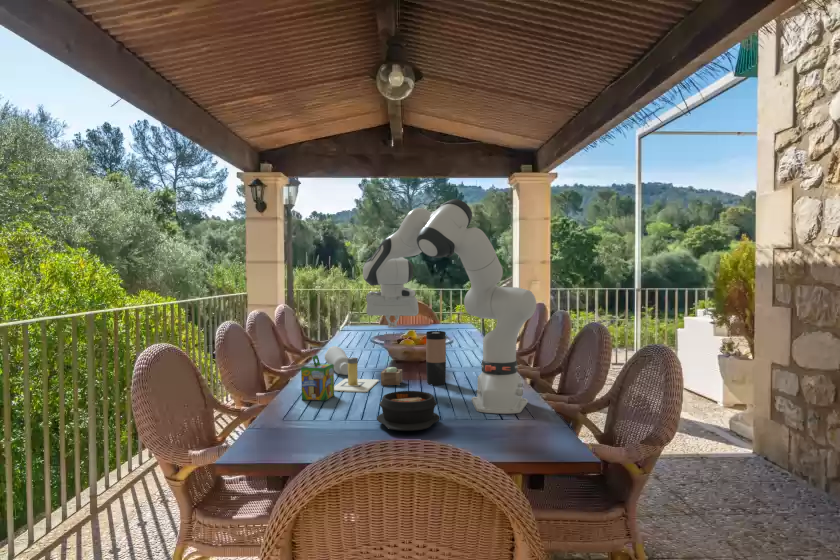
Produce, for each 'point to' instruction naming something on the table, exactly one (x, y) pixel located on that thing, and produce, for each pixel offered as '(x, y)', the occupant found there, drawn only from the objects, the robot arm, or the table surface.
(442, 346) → the travel mug
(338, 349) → the bottle
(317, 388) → the chalk box
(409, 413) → the casserole
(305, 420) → the table surface
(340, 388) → the drawing pad
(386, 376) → the button housing
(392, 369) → the button
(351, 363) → the spice shaker
